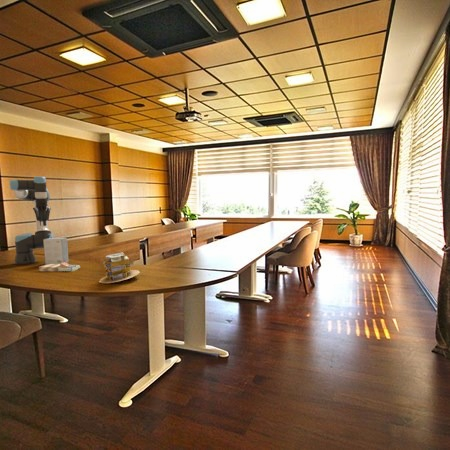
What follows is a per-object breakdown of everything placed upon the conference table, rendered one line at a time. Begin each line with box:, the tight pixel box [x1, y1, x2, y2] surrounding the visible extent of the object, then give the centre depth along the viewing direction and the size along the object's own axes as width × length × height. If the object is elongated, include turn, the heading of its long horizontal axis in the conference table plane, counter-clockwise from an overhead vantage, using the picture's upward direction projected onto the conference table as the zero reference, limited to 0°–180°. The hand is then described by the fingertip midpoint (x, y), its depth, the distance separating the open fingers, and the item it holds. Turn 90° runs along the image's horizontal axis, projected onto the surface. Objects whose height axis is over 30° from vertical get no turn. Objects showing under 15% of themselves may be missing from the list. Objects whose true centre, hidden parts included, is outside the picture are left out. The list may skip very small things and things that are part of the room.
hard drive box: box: [43, 237, 70, 265], centre depth 242 cm, size 16×8×20 cm, turn 84°
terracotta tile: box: [60, 262, 71, 268], centre depth 222 cm, size 4×4×2 cm
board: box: [38, 264, 60, 272], centre depth 223 cm, size 14×10×3 cm
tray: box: [57, 264, 81, 273], centre depth 222 cm, size 11×10×2 cm
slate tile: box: [66, 264, 77, 268], centre depth 222 cm, size 4×4×2 cm
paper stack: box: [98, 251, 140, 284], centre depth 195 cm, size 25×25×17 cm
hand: (43, 230), depth 225 cm, fingers closed
